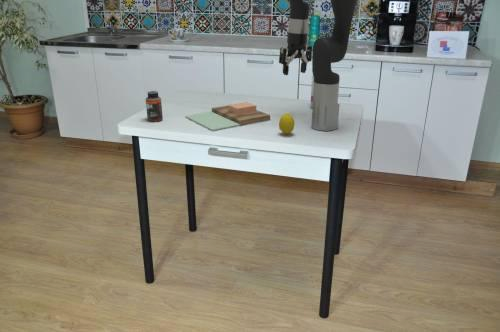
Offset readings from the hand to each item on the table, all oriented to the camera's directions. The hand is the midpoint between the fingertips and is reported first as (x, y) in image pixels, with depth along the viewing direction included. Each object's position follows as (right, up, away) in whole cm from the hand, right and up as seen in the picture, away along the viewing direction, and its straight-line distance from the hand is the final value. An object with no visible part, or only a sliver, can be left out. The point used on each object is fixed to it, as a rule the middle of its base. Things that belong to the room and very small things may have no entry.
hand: (294, 73), depth 184 cm
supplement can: (+13, -11, +21) cm, 27 cm away
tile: (-20, -14, +8) cm, 26 cm away
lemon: (-4, -25, -13) cm, 28 cm away
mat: (-32, -18, +1) cm, 37 cm away
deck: (-21, -16, +8) cm, 28 cm away
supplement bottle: (-55, -18, +3) cm, 58 cm away
